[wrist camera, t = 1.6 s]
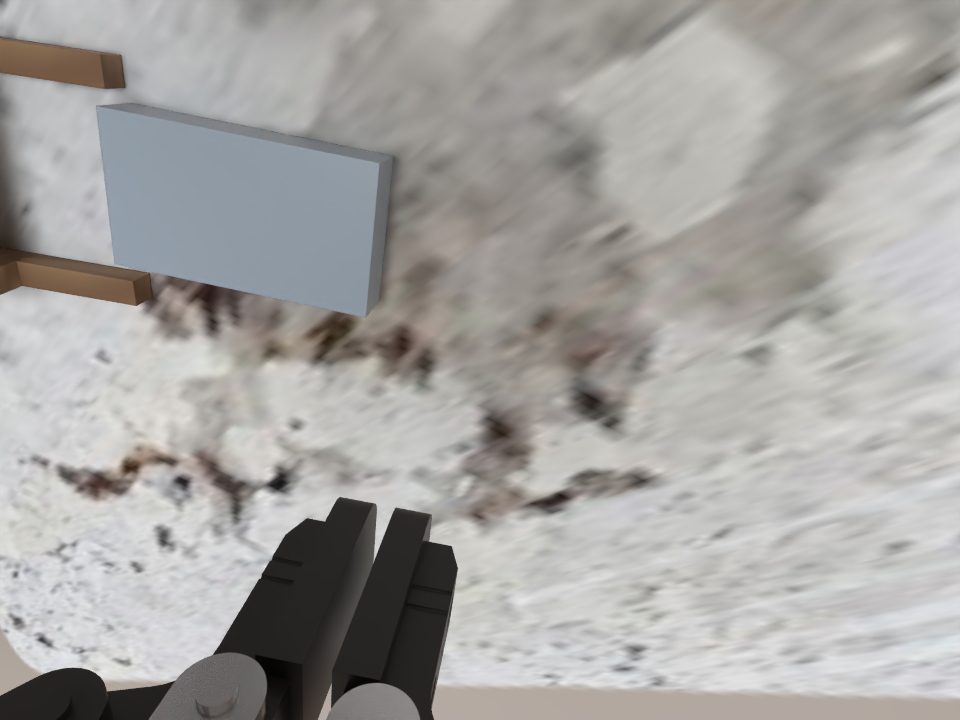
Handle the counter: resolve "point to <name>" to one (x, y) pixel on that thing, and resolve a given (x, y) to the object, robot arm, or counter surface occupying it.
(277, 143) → the panel
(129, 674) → the counter surface
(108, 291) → the wooden frame
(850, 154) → the counter surface
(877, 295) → the counter surface
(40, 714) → the robot arm
